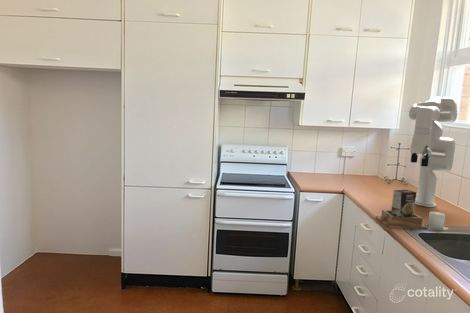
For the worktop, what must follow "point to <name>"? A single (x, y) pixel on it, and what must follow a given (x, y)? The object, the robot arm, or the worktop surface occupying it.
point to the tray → (401, 221)
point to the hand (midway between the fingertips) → (418, 164)
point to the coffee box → (403, 203)
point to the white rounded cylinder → (436, 220)
